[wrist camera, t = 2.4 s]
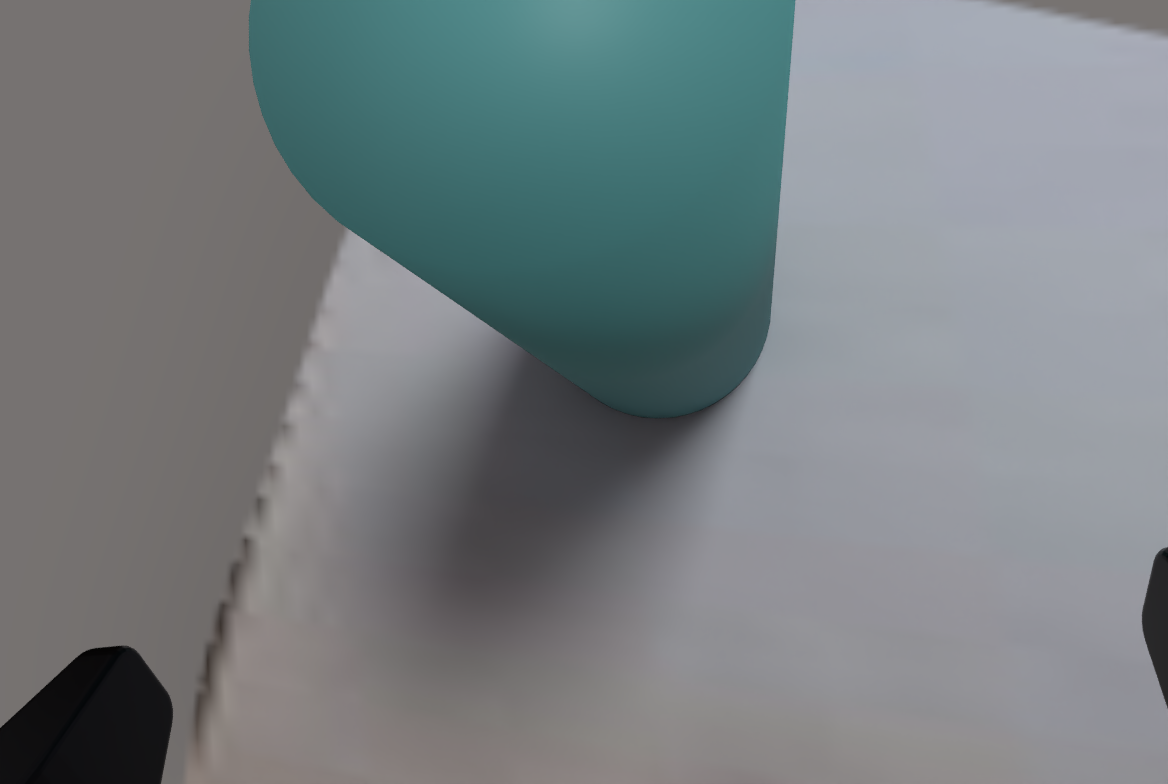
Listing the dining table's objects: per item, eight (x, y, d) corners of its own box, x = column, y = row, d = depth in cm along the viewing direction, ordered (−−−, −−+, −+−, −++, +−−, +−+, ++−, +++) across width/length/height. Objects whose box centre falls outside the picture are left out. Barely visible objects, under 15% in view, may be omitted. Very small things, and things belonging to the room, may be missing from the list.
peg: (597, 451, 21) (348, 363, 8) (520, 253, 22) (183, -113, 9) (806, 367, 20) (891, 132, 8) (720, 166, 21) (666, -353, 8)
